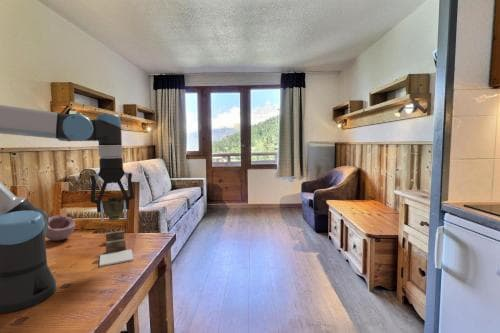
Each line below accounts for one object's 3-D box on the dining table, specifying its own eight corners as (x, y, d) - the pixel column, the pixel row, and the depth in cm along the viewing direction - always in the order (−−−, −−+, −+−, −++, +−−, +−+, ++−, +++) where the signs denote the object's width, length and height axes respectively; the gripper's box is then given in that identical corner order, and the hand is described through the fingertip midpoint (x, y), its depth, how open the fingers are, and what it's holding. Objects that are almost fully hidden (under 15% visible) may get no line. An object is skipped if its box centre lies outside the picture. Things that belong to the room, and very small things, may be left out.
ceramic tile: (133, 260, 100) (133, 258, 99) (99, 266, 94) (99, 265, 94) (131, 250, 108) (131, 249, 108) (100, 256, 103) (100, 254, 103)
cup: (117, 216, 105) (116, 196, 104) (129, 218, 101) (128, 197, 101) (98, 221, 99) (97, 199, 98) (110, 224, 95) (109, 201, 94)
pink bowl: (53, 246, 113) (51, 219, 112) (37, 242, 118) (35, 216, 117) (81, 237, 124) (79, 213, 123) (65, 233, 129) (64, 210, 128)
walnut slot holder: (123, 239, 122) (123, 230, 121) (125, 249, 109) (125, 240, 109) (106, 241, 118) (105, 232, 118) (106, 253, 106) (105, 243, 106)
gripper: (139, 156, 106) (141, 213, 108) (79, 157, 97) (83, 220, 99) (141, 157, 99) (143, 218, 101) (78, 158, 90) (82, 226, 92)
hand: (114, 219), depth 100 cm, fingers closed on cup, 7 cm apart
